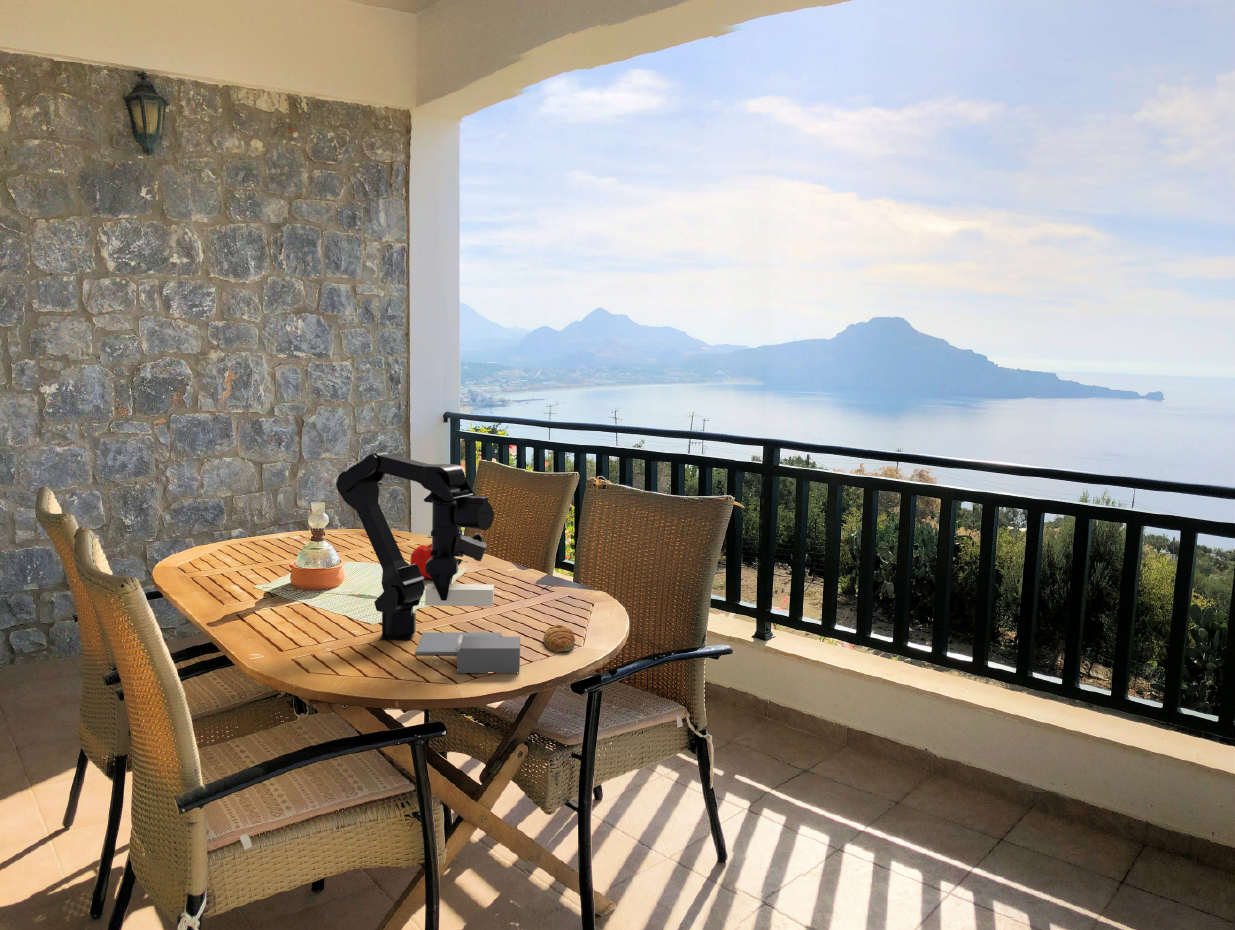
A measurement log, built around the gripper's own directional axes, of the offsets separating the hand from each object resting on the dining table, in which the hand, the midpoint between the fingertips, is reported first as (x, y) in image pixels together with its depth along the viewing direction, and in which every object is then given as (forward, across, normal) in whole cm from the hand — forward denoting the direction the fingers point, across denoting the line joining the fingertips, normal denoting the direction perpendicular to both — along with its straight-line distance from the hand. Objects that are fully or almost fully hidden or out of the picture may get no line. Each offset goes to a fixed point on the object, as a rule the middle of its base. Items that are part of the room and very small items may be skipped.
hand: (445, 597), depth 182 cm
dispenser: (+11, -13, -10) cm, 20 cm away
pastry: (+11, +1, -25) cm, 27 cm away
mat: (+11, +1, -3) cm, 11 cm away
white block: (+1, 0, -3) cm, 3 cm away
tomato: (+11, +60, +10) cm, 62 cm away
